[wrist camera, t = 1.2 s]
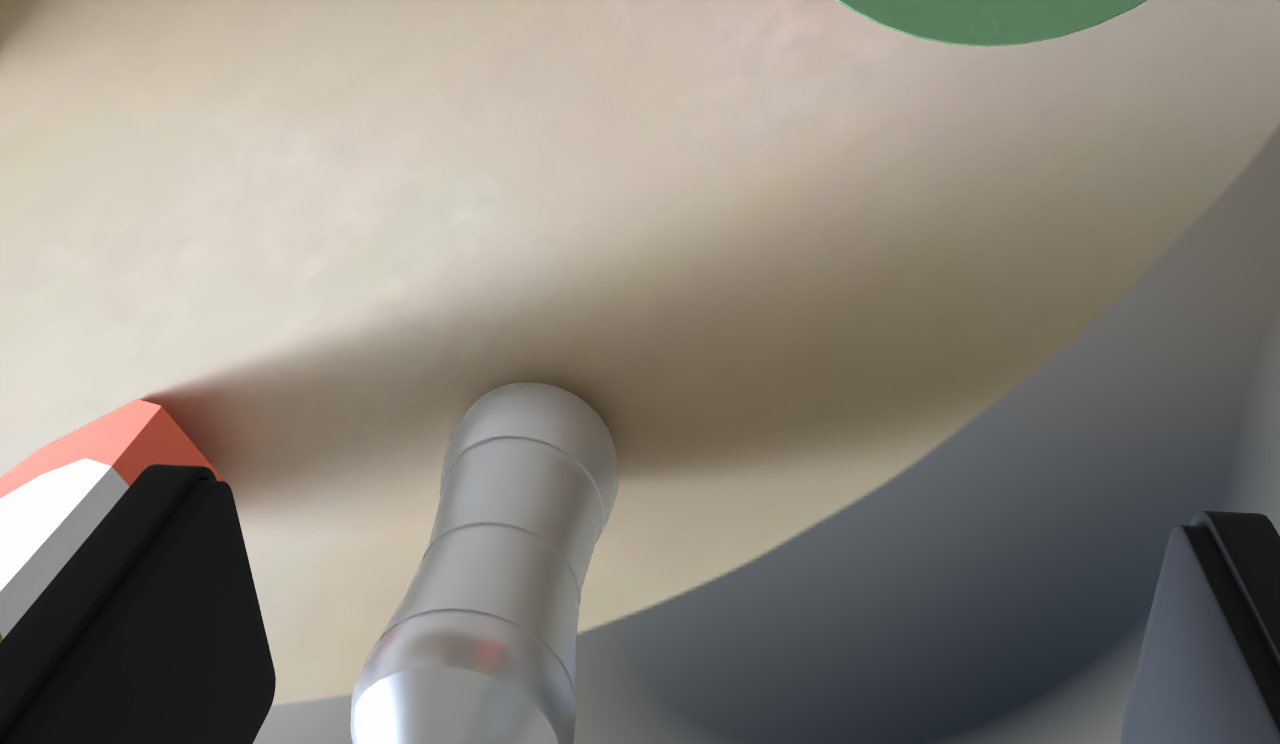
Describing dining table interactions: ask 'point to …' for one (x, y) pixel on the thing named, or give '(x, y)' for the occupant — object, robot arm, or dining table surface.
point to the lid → (989, 18)
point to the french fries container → (76, 495)
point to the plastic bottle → (496, 581)
